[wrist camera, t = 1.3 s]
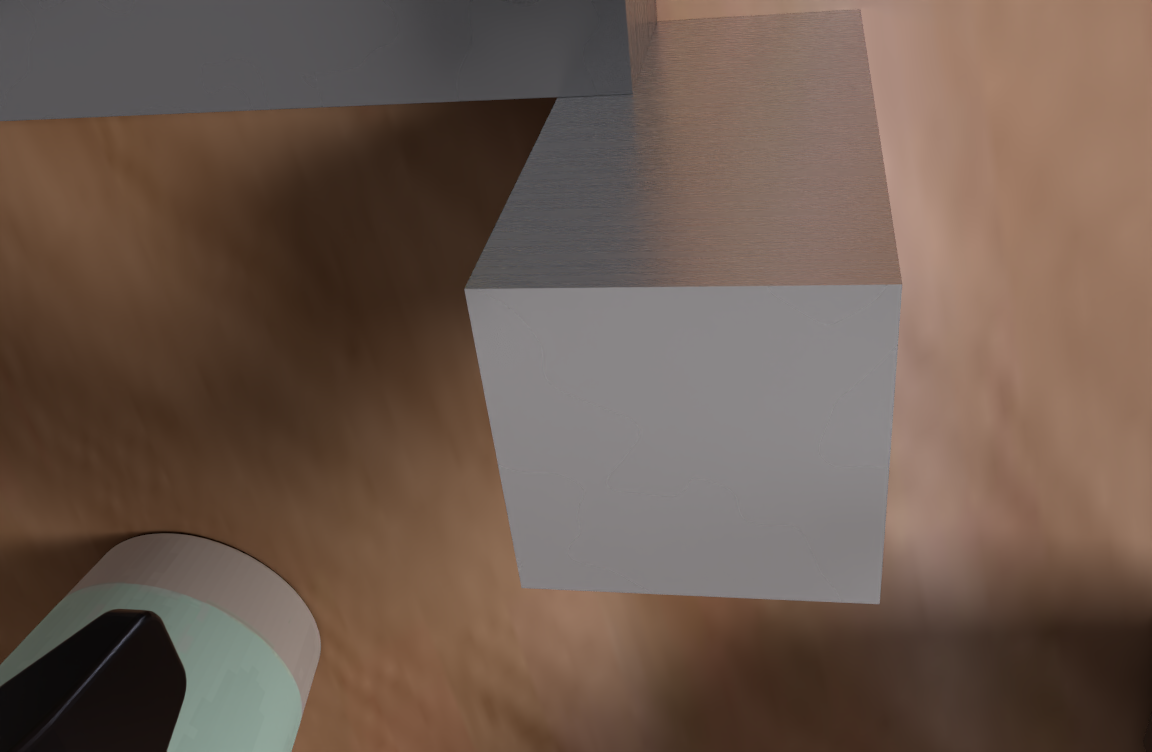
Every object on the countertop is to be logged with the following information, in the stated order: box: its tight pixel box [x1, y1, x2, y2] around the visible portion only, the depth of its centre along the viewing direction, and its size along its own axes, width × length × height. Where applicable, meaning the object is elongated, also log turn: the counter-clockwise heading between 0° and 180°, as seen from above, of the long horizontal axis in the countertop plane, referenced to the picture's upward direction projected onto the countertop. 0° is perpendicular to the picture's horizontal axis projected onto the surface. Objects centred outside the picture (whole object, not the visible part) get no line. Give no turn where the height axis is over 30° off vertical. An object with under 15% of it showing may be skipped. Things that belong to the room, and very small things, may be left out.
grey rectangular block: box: [464, 10, 902, 604], centre depth 14 cm, size 4×4×8 cm
